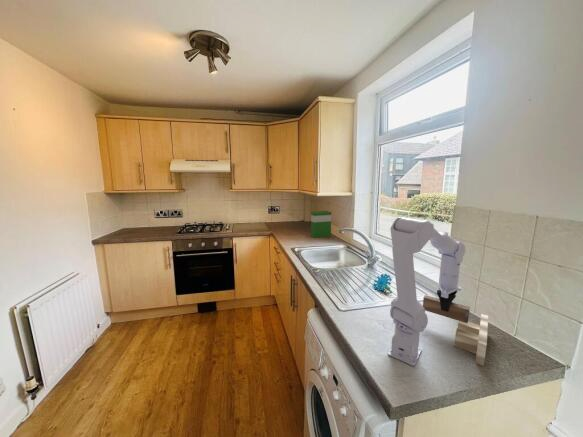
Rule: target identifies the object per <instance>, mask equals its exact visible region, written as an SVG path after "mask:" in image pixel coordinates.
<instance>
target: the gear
mask: <svg viewBox="0 0 583 437" xmlns="http://www.w3.org/2000/svg"><path fill="white" fill-rule="evenodd" d="M391 281H392V278H391V275H390V274H387V273H384V274H383V273H380V276H379V275H378V276H377V277H376V279H374V281H373V282H374V283H373V285H372V286H374V289H375V290H377V291H378V292H380V291H382V292H383V291H385V290H387V291H389V292H390V293H393V290H391V287H390V285H391V284H392V283H391Z"/></svg>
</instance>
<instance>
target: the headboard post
mask: <svg viewBox="0 0 583 437" xmlns="http://www.w3.org/2000/svg"><path fill="white" fill-rule="evenodd" d="M457 322H458V323H457V328H456V331H455V338H454V347H456V348H459V349H462V350H464V351H466V352H469V353H472V354H475V364H477V365H480V366H482V367H484V366H485V359H486V351H487V344H488V330H489V328H488V327H489V315H487V314H483V313H481V314H480V322H479V324H476V323H473V322H470V321H468V323H465V322H461V321H457Z"/></svg>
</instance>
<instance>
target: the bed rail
mask: <svg viewBox="0 0 583 437" xmlns="http://www.w3.org/2000/svg"><path fill="white" fill-rule="evenodd" d="M422 306H423V307H424V308H425V312H429V313H432V314H435V315H439V316H442V317H444V318H448V319H452V320H455V321H457V322H459V321H461V322H465V323H468V322H469V320H470V319H469V318H470V317H469V316H470V310H471V306H468V305H467V306H466V305H463V304H459V303H456V302H453V301H452V303H451V305H450V308H449V311H448V312H446V311H443V310H441V305H440V299H439V297H438V298H437V297H434V296H430V295H426V294H425V295H424V296H423V301H422Z"/></svg>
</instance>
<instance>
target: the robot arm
mask: <svg viewBox="0 0 583 437" xmlns="http://www.w3.org/2000/svg"><path fill="white" fill-rule="evenodd" d="M434 225H435V224H434V223H432V222H431V221H428V220H421V219H414V218H406V217H403V216H399V217H397V218H395V220H394V221H393V223H392V225H391V226H390V228H389V230H390V237H391V243H392V251H391V252H392V259H393V267H394V268H393V269H394V277H395V284H396V285H395V287H396V294H397V296H396V297H394V298H393V299H392V300H391V302H390V310H389V315H390V318H391V319H392V320H393V323H392V324H394V334H393V336H392V338H391V347H390V349H389V350H388V352H387V355H388V356H390V357H391V358H394V359H397V360H398V361H401V362H404V363H407V364H408V365H410V366H413V367H415V366H416V365H417V362H418V360H419V357H420V354H421V353H422V350H423V349H422V348H421V347H419V345H420V337H421V336H420V335H421V334H420V333H422V332H424V331H425V330H426V328H427V326H428V322H429V319H428V315H427V314H426V311H425V308H424V307H423V304H422V303H421V302H420V301H419V300H418V298H417V297H418V296H417V288H416V287H417V286H416V276H415V274H416V273H415V263H414V254H416V253H420V252H421V251H422V250H423V248H424V247H425V246H426V245H427V244H428V242H429V241H430V244H431V246H432V247H433V248H434V249H436V250H437V251H438V254H439V255H441V257H440V258H441V259H440V266H439V267H440V268H439V276H438V282H437V287H438V289H437V291H436V295H437V297H438V299H440V305H441V310H443V311H446V312H448V311H449V308H450V305H451V303H452V302H453V301H454V300H455V298H456V297H457V295H456V294H457V293H458V291H459V292H460V291H462V286H458V285H459V278H460V268H461V263H462V262H463V260H464V259H463V258H464V257H465V253H466V245H465V244H464V243H462V241H457V240H455V238H454V237H453V236H450V234H449V232H447V231H438V230H437V229H436V228H435V226H434Z"/></svg>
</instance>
